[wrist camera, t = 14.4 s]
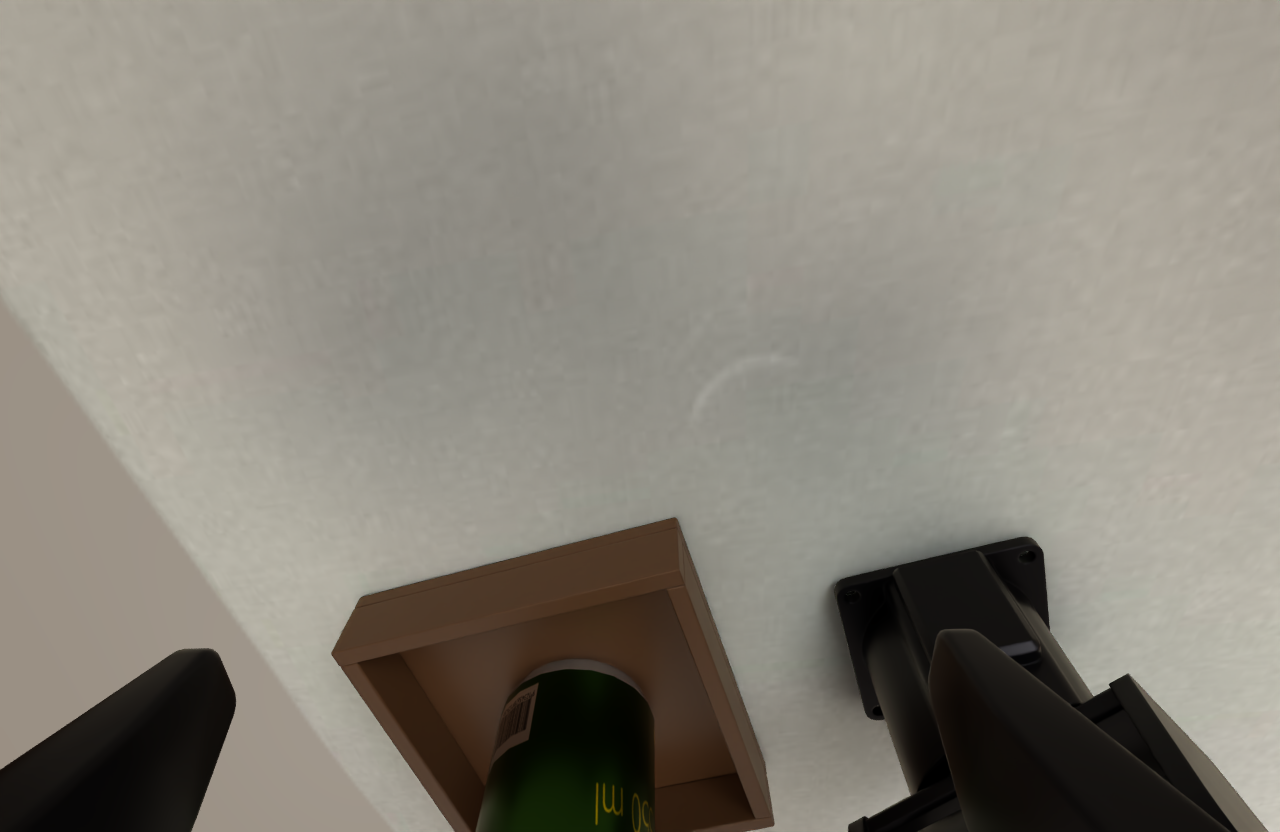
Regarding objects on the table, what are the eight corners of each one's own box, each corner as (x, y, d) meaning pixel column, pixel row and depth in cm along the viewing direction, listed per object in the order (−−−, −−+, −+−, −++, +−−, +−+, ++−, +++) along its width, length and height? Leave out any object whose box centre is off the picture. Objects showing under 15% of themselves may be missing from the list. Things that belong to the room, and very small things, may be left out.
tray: (765, 762, 28) (775, 826, 26) (499, 815, 30) (487, 879, 28) (676, 516, 23) (679, 569, 21) (359, 596, 25) (330, 654, 22)
